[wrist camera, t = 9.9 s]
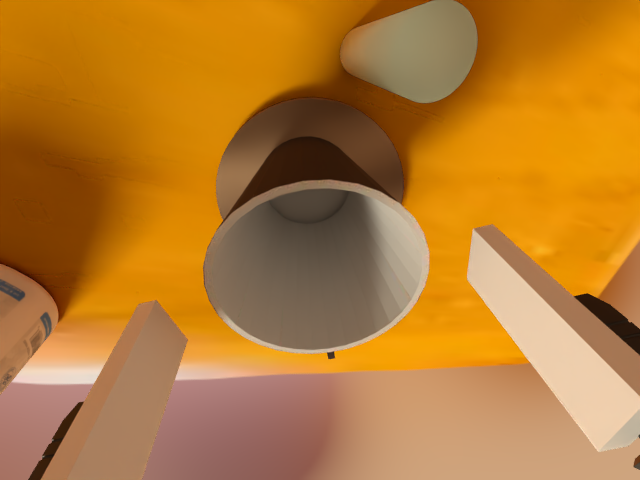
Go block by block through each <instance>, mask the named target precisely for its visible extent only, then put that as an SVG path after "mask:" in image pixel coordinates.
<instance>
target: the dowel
mask: <svg viewBox="0 0 640 480" xmlns="http://www.w3.org/2000/svg"><path fill="white" fill-rule="evenodd" d="M477 44H478V35H477V28H476V24H475V21H474V19H473V17H472V15H471V14H470V12H469V11H468V10H467V9H466V7H464V6H463V5H462V4H460V3H458V2H457V1H454V0H433V1H430V2H427V3H424V4H422V5H419V6H416V7H413V8H410V9H407V10H405V11H402V12H399V13H396V14H393V15H390V16H388V17H385V18H382V19H379V20H376V21H373V22H370V23H368V24H365V25H362V26H359V27H356V28H354V29H352V30H351V31H350V32H349V33H348V34H347V35H346V36H345V38H344V39H343V42H342V44H341V48H340V59H341V63H342V65H343V67H344V69H345V70H346V71H347V72H348V73H349V74H350V75H352V76H355V77H357V78H359V79H362V80H364V81H366V82H369V83H371V84H374V85H376V86H378V87H381V88H383V89H386V90H388V91H390V92H393V93H395V94H397V95H400V96H402V97H405V98H407V99H409V100H412V101H414V102H418V103H431V102H436V101H438V100H441V99H443V98H445V97H447V96H448V95H450V94H451V93H452V92H453V91H455V90H456V89H457V88H458V87H459V86H460V85H461V83H462V82H463V81H464V79H465V78H466V76H467V75H468V73H469V71H470V69H471V67H472V65H473V62H474V59H475V56H476V51H477Z"/></svg>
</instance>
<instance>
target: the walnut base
mask: <svg viewBox="0 0 640 480" xmlns="http://www.w3.org/2000/svg"><path fill="white" fill-rule="evenodd" d="M306 136H312V137H318V138H322V139H324V140H327V141H330V142H331V143H333V144H334V145H336V146H337V147H339V148H340V149H341V150H342V151H343V152H344V153H345V154H346V155H347V156H348V157H350V158H351V159H352V160H353V161H354V162H355V163H356V164H357V165H358V166H359V167H361V168H362V169H363V170H364V171H365V172H366V173H367V174H368V175H369V176H370V177H372V178H373V179H374V180H375V181H376V182H377V183H378V184H379V185H380V186H381V187H383V188H384V189H385V190H386V191H387V192H388V193H389V194H390V195H391V196H392V197H394V198H395V199H396V200H397V201H398V202H399V203H400V204H401V202H402V198H403V189H404V181H403V171H402V165H401V162H400V159H399V156H398V153H397V151H396V149H395V147H394V145H393V143H392V142H391V140H390V139H389V137H388V136H387V135H386V133H385V132H384V131H383V130H382V129H381V128H380V127H379V126H378V125H377V124H376V123H375V122H374V121H373V120H372V119H370V118H369V117H368V116H367V115H365V114H364V113H363V112H361V111H359V110H357V109H356V108H354V107H352V106H350V105H347V104H344V103H342V102H339V101H335V100H331V99H326V98H315V97H307V98H296V99H291V100H287V101H282V102H280V103H277V104H275V105H272V106H270V107H268V108H266V109H264V110H262V111H261V112H259V113H257V114H256V115H255V116H253V117H252V118H251V119H249V120H248V121H247V122H246V123H245V124H244V125H243V126H242V127H241V128H240V129H239V130H238V131H237V133H236V134H235V136H234V137H233V139H232V140H231V141H230V143H229V144H228V146H227V148H226V150H225V152H224V154H223V156H222V159H221V162H220V165H219V168H218V174H217V180H216V194H217V202H218V206H219V210H220V213H221V216H222V218H223V220H224V219H225V218H226V216H227V215H228V213H229V212H230V210H231V209H232V207H233V206H234V204H235V203H236V202H237V200H238V199H239V197H240V196H241V194H242V193H243V191H244V190H245V189H246V187H247V186H248V184H249V183H250V181H251V180H252V178H253V177H254V176H255V174H256V173H257V171H258V170H259V168H260V167H261V165H262V164H263V163H264V161H265V160H266V158H267V157H268V156H269V154H270V153H271V152H272V151H273V150H274V149H275V148H276V147H278V146H279V145H280V144H282V143H284V142H286V141H288V140H290V139H293V138H297V137H306Z"/></svg>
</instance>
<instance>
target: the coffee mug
mask: <svg viewBox="0 0 640 480" xmlns="http://www.w3.org/2000/svg"><path fill="white" fill-rule="evenodd" d="M203 271H204V285H205V289H206V292H207V295H208V298H209V301H210V302H211V304H212V306H213V307H214V309H215V311H216V312H217V314H218V315H219V316H220V317H221V318H222V319H223V321H224V322H225V323H226V324H227V325H228V326H229V327H230V328H232V329H233V330H235V331H236V332H237V333H239V334H240V335H242V336H243V337H245V338H247V339H249V340H251V341H253V342H255V343H257V344H259V345H262V346H265V347H268V348H272V349H275V350H279V351H285V352H291V353H307V354H315V353H327V354H328V359H333V358H335V356H334V351H338V350H343V349H348V348H351V347H354V346H357V345H360V344H363V343H365V342H367V341H369V340H371V339H373V338H376V337H378V336H380V335H381V334H383V333H384V332H386V331H387V330H389V329H390V328H392V327H393V326H395V325H396V324H397V323H398V322H399V321H400V320H401V319H402V318H403V317H404V316H406V315H407V314H408V312H409V311H410V310H411V308H412V307H413V306H414V305H415V303H416V302H417V301H418V299H419V297H420V295H421V293H422V291H423V289H424V287H425V284H426V280H427V276H428V272H429V249H428V246H427V242H426V238H425V235H424V233H423V231H422V230H421V228H420V226H419V224H418V223H417V221H416V219H415V218H414V217H413V216H412V215H411V214H410V213H409V212H408V211H407V210H406V209H405V208H404V207H403V206H402V205H401V204H400V203H399V202H398V201H397V200H396V199H395V198H394V197H392V196H391V195H390V194H389V193H388V192H387V191H386V190H385V189H384V188H383V187H381V186H380V185H379V184H378V183H377V182H376V181H375V180H374V179H373V178H372V177H370V176H369V175H368V174H367V173H366V172H365V171H364V170H363V169H362V168H361V167H359V166H358V165H357V164H356V163H355V162H354V161H353V160H352V159H351V158H350V157H348V156H347V155H346V154H345V153H344V152H343V151H342V150H341V149H340V148H339V147H337V146H336V145H334V144H333V143H331V142H330V141H327V140H324V139H322V138H318V137H312V136H306V137H297V138H293V139H290V140H288V141H286V142H284V143H282V144H280V145H279V146H278V147H276V148H275V149H274V150H273V151H272V152H271V153H270V154H269V156H268V157H267V158H266V160H265V161H264V163H263V164H262V165H261V167H260V168H259V170H258V171H257V173H256V174H255V176H254V177H253V178H252V180H251V181H250V183H249V184H248V186H247V187H246V189H245V190H244V191H243V193H242V194H241V196H240V197H239V199H238V200H237V202H236V203H235V204H234V206H233V207H232V209H231V210H230V212H229V213H228V215H227V216H226V218H225V219H224V220H223V222H222V223H221V225H220V226H219V228H218V229H217V231H216V233H215V235H214V237H213V238H212V240H211V242H210V244H209V246H208V248H207V252H206V257H205V261H204V266H203Z"/></svg>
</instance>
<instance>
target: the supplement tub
mask: <svg viewBox="0 0 640 480" xmlns="http://www.w3.org/2000/svg"><path fill="white" fill-rule="evenodd" d="M57 322H58V308H57V306H56V303H55V301H54V300H53V298H52V297H51V295H50V294H49V293H48V292H47V291H46V290H45V289H44V288H43V287H42V286H41V285H39V284H38V283H37V282H35V281H34V280H32V279H31V278H29V277H27V276H25V275H23V274H22V273H20V272H18V271H16V270H14V269H12V268H10V267H8V266H5V265H3V264H0V395H1V394H2V392H3V391H4V390H5V389H6V387H7V386H8V385H9V384H10V383H11V381H12V380H13V379H14V378H15V377H16V375H17V374H18V373H19V372H20V370H21V369H22V368H23V367H24V365H25V364H26V363H27V362H28V361H29V359H30V358H31V357H32V356H33V354H34V353H35V352H36V351H37V350H38V348H39V347H40V346H41V345H42V344H43V342H44V341H45V340H46V339H47V337H48V336H49V335H50V334H51V333H52V331H53V330H54V329H55V327H56V325H57Z"/></svg>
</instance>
